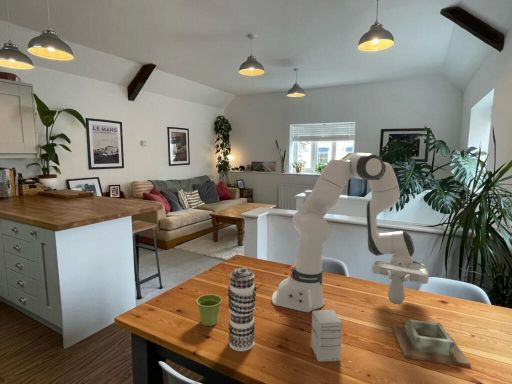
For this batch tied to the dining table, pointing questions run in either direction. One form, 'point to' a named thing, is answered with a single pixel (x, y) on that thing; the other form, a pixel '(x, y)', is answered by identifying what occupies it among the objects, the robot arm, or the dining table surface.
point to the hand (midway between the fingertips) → (397, 278)
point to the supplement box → (326, 335)
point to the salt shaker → (396, 287)
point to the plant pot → (209, 309)
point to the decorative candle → (241, 309)
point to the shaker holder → (428, 343)
